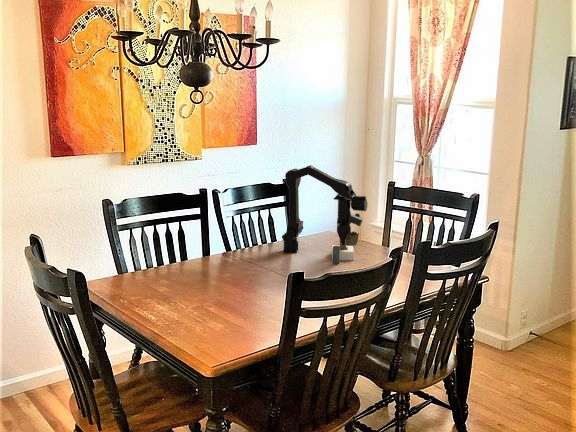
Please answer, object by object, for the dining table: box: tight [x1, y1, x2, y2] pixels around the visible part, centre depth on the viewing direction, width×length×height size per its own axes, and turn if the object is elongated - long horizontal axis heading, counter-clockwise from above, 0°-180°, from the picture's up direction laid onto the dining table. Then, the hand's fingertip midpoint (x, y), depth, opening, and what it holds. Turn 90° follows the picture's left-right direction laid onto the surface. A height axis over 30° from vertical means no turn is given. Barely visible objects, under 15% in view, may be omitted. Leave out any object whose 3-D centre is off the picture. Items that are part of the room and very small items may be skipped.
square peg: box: [339, 240, 347, 250], centre depth 275 cm, size 3×3×8 cm
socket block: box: [331, 244, 355, 261], centre depth 275 cm, size 10×10×4 cm
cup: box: [346, 231, 360, 249], centre depth 288 cm, size 8×7×8 cm
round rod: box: [332, 245, 340, 266], centre depth 264 cm, size 3×3×8 cm
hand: (343, 242), depth 274 cm, fingers open, 9 cm apart
